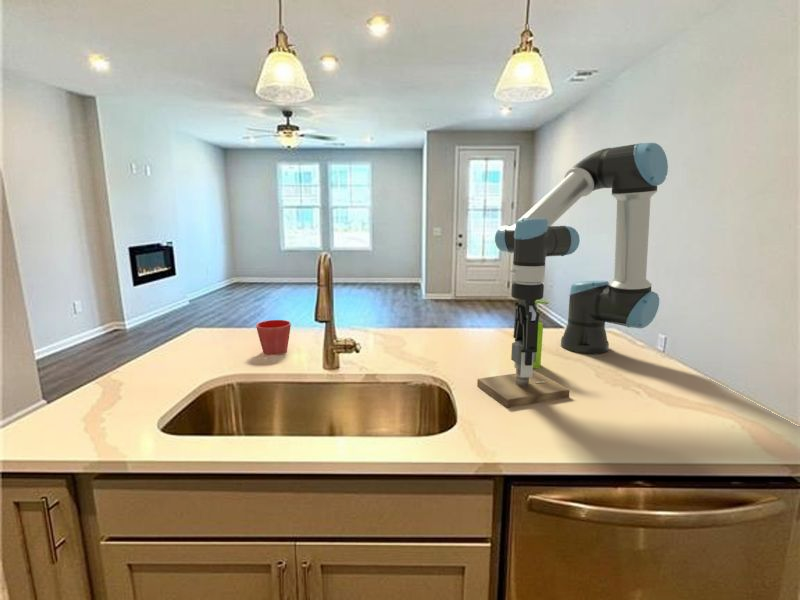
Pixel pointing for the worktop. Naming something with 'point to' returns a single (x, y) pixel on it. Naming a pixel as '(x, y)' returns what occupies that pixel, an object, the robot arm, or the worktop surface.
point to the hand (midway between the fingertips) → (522, 371)
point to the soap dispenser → (539, 338)
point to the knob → (517, 354)
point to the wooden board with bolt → (522, 388)
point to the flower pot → (274, 336)
